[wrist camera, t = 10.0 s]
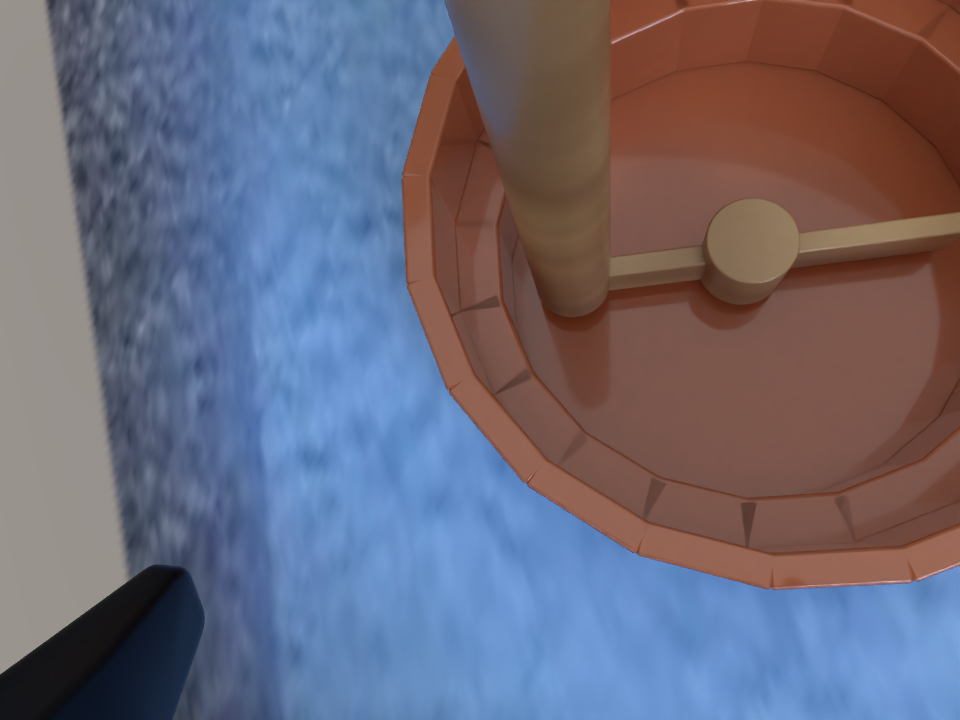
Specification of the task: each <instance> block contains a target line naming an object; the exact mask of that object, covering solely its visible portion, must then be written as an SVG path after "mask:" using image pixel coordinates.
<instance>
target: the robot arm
mask: <svg viewBox="0 0 960 720" xmlns="http://www.w3.org/2000/svg"><path fill="white" fill-rule="evenodd" d="M204 621H205V616H204V610H203V607H202V604H201V601H200V599H199V596H198V593H197V591H196V588H195V585H194V582H193V580H192V577H191V575H190V573H189V571H188V570H186V569H185V568H184V567H179V566H169V565H152V566H150V567H148V568H146V569H145V570H143V571H142V572H140V573H139V574H138V575H136V576H135V577H134V578H132V579H131V580H129V581H128V582H127V583H125V584H124V585H123V586H121V587H120V588H118V589H117V590H116V591H114V592H113V593H112V594H110V595H109V596H107V597H106V598H105V599H103V600H102V601H101V602H99V603H98V604H96V605H95V606H94V607H92V608H91V609H90V610H88V611H87V612H85V613H84V614H83V615H81V616H80V617H79V618H77V619H76V620H75V621H73V622H72V623H70V624H69V625H68V626H66V627H65V628H63V629H62V630H61V631H59V632H58V633H57V634H55V635H54V636H53V637H51V638H50V639H49V640H47V641H46V642H44V643H43V644H42V645H40V646H39V647H37V648H36V649H35V650H33V651H32V652H31V653H29V654H28V655H27V656H25V657H24V658H23V659H21V660H20V661H18V662H17V663H16V664H14V665H13V666H11V667H10V668H9V669H7V670H6V671H5V672H3V673H2V674H0V720H172V719H173V716H174V713H175V711H176V708H177V705H178V702H179V699H180V696H181V693H182V690H183V687H184V684H185V682H186V679H187V676H188V673H189V670H190V667H191V664H192V661H193V658H194V656H195V653H196V650H197V647H198V644H199V641H200V638H201V635H202V632H203V628H204Z"/></svg>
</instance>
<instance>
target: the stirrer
mask: <svg viewBox="0 0 960 720" xmlns="http://www.w3.org/2000/svg"><path fill="white" fill-rule="evenodd" d="M444 2H445V5H446V8H447V12H448V15H449V18H450V21H451V24H452V27H453V30H454V33H455V37H456V40H457V43H458V46H459V49H460V52H461V55H462V58H463V62H464V65H465V68H466V71H467V74H468V77H469V80H470V83H471V87H472V90H473V93H474V96H475V99H476V102H477V105H478V108H479V112H480V115H481V118H482V121H483V124H484V127H485V130H486V133H487V137H488V140H489V143H490V146H491V149H492V152H493V155H494V158H495V162H496V165H497V168H498V171H499V174H500V177H501V180H502V183H503V187H504V190H505V193H506V196H507V199H508V202H509V205H510V208H511V212H512V215H513V218H514V221H515V224H516V227H517V230H518V233H519V237H520V240H521V243H522V246H523V249H524V252H525V255H526V258H527V262H528V265H529V268H530V271H531V274H532V277H533V280H534V283H535V287H536V290H537V293H538V296H539V298H540V300H541V301H542V303H543V304H544V305H545V306H546V307H547V308H548V309H549V310H551V311H552V312H554V313H556V314H558V315H561V316H565V317H580V316H584V315H587V314H589V313H591V312H593V311H594V310H596V309H597V308H598V307H599V306H600V305H601V304H602V303H603V301H604V300H605V298H606V297H607V294H608V292H609V291H610V290H618V289H626V288H635V287H643V286H651V285H659V284H667V283H675V282H684V281H692V280H701V282H702V283H703V285H704V286H705V288H706V289H707V290H708V291H709V292H710V293H711V294H712V295H713V296H715V297H716V298H718V299H720V300H722V301H724V302H727V303H730V304H737V305H746V304H752V303H755V302H758V301H760V300H763V299H764V298H766V297H767V296H769V295H770V294H771V293H772V292H773V291H774V290H775V289H776V288H777V286H778V285H779V283H780V282H781V281H782V279H783V278H784V276H785V275H786V274H787V272H788V271H789V269H790V268H798V267H806V266H814V265H822V264H830V263H839V262H847V261H855V260H863V259H871V258H879V257H887V256H896V255H904V254H912V253H920V252H928V251H936V250H944V249H946V248H947V247H948V246H950V245H951V244H952V243H953V242H955V241H956V240H957V239H958V238H959V237H960V212H954V213H947V214H939V215H931V216H923V217H915V218H908V219H900V220H892V221H884V222H877V223H869V224H861V225H853V226H845V227H838V228H830V229H822V230H814V231H807V232H799V229H798V227H797V224H796V222H795V221H794V219H793V218H792V216H791V215H790V214H789V213H788V212H787V211H786V210H785V209H784V208H783V207H781V206H780V205H778V204H776V203H774V202H772V201H770V200H766V199H761V198H744V199H739V200H736V201H733V202H731V203H729V204H727V205H725V206H724V207H723V208H721V209H720V210H719V211H718V212H717V213H716V214H715V215H714V217H713V218H712V219H711V221H710V223H709V225H708V228H707V231H706V234H705V237H704V240H703V243H702V245H698V246H690V247H682V248H674V249H666V250H659V251H651V252H643V253H635V254H627V255H620V256H612V257H610V88H611V0H444Z"/></svg>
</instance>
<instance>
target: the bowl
mask: <svg viewBox="0 0 960 720" xmlns="http://www.w3.org/2000/svg"><path fill="white" fill-rule="evenodd" d="M402 175H403V177H402V203H403V225H404V248H405V270H406V282H407V284H408V285H407V289H408V291H409V294H410V296H411V299H412V302H413V304H414V307H415V309H416V312H417V314H418V317H419V320H420V322H421V325H422V327H423V330H424V332H425V335H426V338H427V340H428V343H429V345H430V348H431V350H432V353H433V356H434V358H435V361H436V363H437V366H438V368H439V371H440V374H441V376H442V379H443V381H444V384H445V386H446V388H447V389H448V390H449V393H450V395H451V396H452V397H453V398H454V400H455V401H456V402H457V403H458V404H459V406H460V407H461V408H462V409H463V411H464V412H465V413H466V414H467V415H468V417H469V418H470V419H471V420H472V421H473V423H474V424H475V425H476V426H477V427H478V429H479V430H480V431H481V432H482V433H483V435H484V436H485V437H486V438H487V439H488V441H489V442H490V443H491V444H492V445H493V447H494V448H495V449H496V450H497V451H498V453H499V454H500V455H501V456H502V457H503V459H504V460H505V461H506V462H507V463H508V465H509V466H510V467H511V468H512V469H513V471H514V472H515V473H516V474H517V476H518V477H519V478H520V479H521V480H522V482H524V483H526V484H527V486H528V487H529V488H531V489H533V490H534V491H536V492H537V493H539V494H541V495H542V496H544V497H545V498H547V499H548V500H550V501H552V502H553V503H555V504H556V505H558V506H560V507H561V508H563V509H564V510H566V511H567V512H569V513H571V514H572V515H574V516H575V517H577V518H578V519H580V520H582V521H583V522H585V523H586V524H588V525H590V526H591V527H593V528H594V529H596V530H597V531H599V532H601V533H602V534H604V535H605V536H607V537H609V538H610V539H612V540H613V541H615V542H616V543H618V544H620V545H621V546H623V547H624V548H626V549H627V550H629V551H631V552H632V553H637V554H638V555H639V556H642V557H646V558H650V559H654V560H657V561H661V562H665V563H669V564H673V565H676V566H680V567H684V568H688V569H691V570H695V571H699V572H703V573H707V574H710V575H714V576H718V577H722V578H726V579H729V580H733V581H737V582H741V583H745V584H748V585H752V586H756V587H760V588H764V589H770V588H771V589H774V590H786V589H806V588H827V587H847V586H867V585H887V584H907V583H911V582H913V581H921V580H924V579H926V578H929V577H931V576H934V575H937V574H939V573H942V572H944V571H947V570H949V569H952V568H955V567H957V566H960V237H959V238H958V239H957V240H956V241H955V242H953V243H952V244H951V245H950V246H948V247H947V248H946V249H944V250H936V251H928V252H920V253H912V254H904V255H896V256H887V257H879V258H871V259H863V260H855V261H847V262H839V263H830V264H822V265H814V266H806V267H798V268H790V269H789V271H788V272H787V274H786V275H785V276H784V278H783V279H782V281H781V282H780V283H779V285H778V286H777V288H776V289H775V290H774V291H773V292H772V293H771V294H770V295H769V296H767V297H766V298H764V299H763V300H760V301H758V302H755V303H752V304H746V305H737V304H730V303H727V302H724V301H722V300H720V299H718V298H716V297H715V296H713V295H712V294H711V293H710V292H709V291H708V290H707V289H706V288H705V286H704V285H703V283H702V282H701V280H692V281H684V282H675V283H667V284H659V285H651V286H643V287H635V288H626V289H618V290H610V291H609V292H608V294H607V297H606V298H605V300H604V301H603V303H602V304H601V305H600V306H599V307H598V308H597V309H596V310H594V311H593V312H591V313H589V314H587V315H584V316H580V317H565V316H561V315H558V314H556V313H554V312H552V311H551V310H549V309H548V308H547V307H546V306H545V305H544V304H543V303H542V301H541V300H540V298H539V296H538V293H537V290H536V287H535V283H534V280H533V277H532V274H531V271H530V268H529V265H528V262H527V258H526V255H525V252H524V249H523V246H522V243H521V240H520V237H519V233H518V230H517V227H516V224H515V221H514V218H513V215H512V212H511V208H510V205H509V202H508V199H507V196H506V193H505V190H504V187H503V183H502V180H501V177H500V174H499V171H498V168H497V165H496V162H495V158H494V155H493V152H492V149H491V146H490V143H489V140H488V137H487V133H486V130H485V127H484V124H483V121H482V118H481V115H480V112H479V108H478V105H477V102H476V99H475V96H474V93H473V90H472V87H471V83H470V80H469V77H468V74H467V71H466V68H465V65H464V62H463V58H462V55H461V52H460V49H459V46H458V43H457V40H456V37H455V36H454V38H453V40H452V41H451V43H450V44H449V46H448V47H447V49H446V50H445V52H444V53H443V55H442V56H441V58H440V59H439V61H438V62H437V64H436V65H435V67H434V68H433V70H432V72H431V76H430V77H429V81H428V84H427V88H426V91H425V95H424V98H423V102H422V105H421V109H420V113H419V116H418V120H417V123H416V127H415V130H414V134H413V137H412V141H411V144H410V148H409V151H408V155H407V159H406V162H405V166H404V169H403V173H402ZM744 198H761V199H766V200H770V201H772V202H774V203H776V204H778V205H780V206H781V207H783V208H784V209H785V210H786V211H787V212H788V213H789V214H790V215H791V216H792V218H793V219H794V221H795V222H796V224H797V227H798V229H799V232H807V231H814V230H822V229H830V228H838V227H845V226H853V225H861V224H869V223H877V222H884V221H892V220H900V219H908V218H915V217H923V216H931V215H939V214H947V213H954V212H960V0H611V88H610V257H612V256H620V255H627V254H635V253H643V252H651V251H659V250H666V249H674V248H682V247H690V246H698V245H702V243H703V240H704V237H705V234H706V231H707V228H708V225H709V223H710V221H711V219H712V218H713V217H714V215H715V214H716V213H717V212H718V211H719V210H720V209H721V208H723V207H724V206H725V205H727V204H729V203H731V202H733V201H736V200H739V199H744Z"/></svg>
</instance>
